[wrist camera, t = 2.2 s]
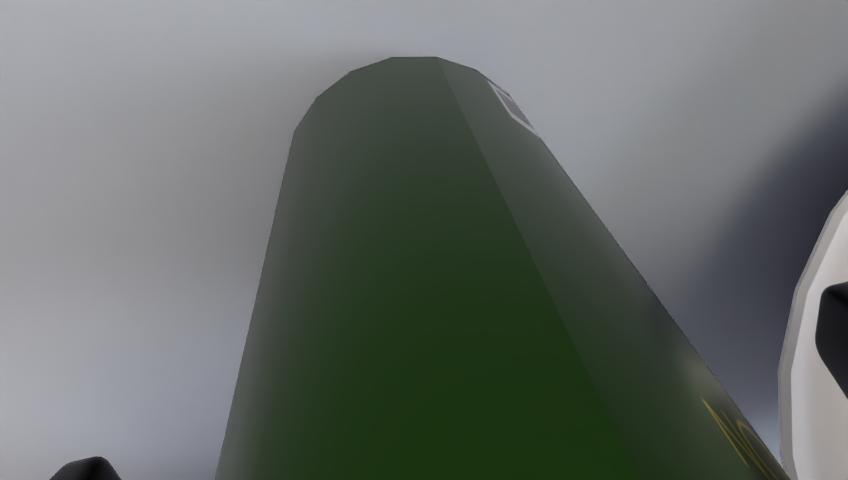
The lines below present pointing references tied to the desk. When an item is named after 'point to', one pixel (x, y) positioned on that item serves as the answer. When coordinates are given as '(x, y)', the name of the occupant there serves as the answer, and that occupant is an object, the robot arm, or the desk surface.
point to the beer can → (460, 310)
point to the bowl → (814, 367)
